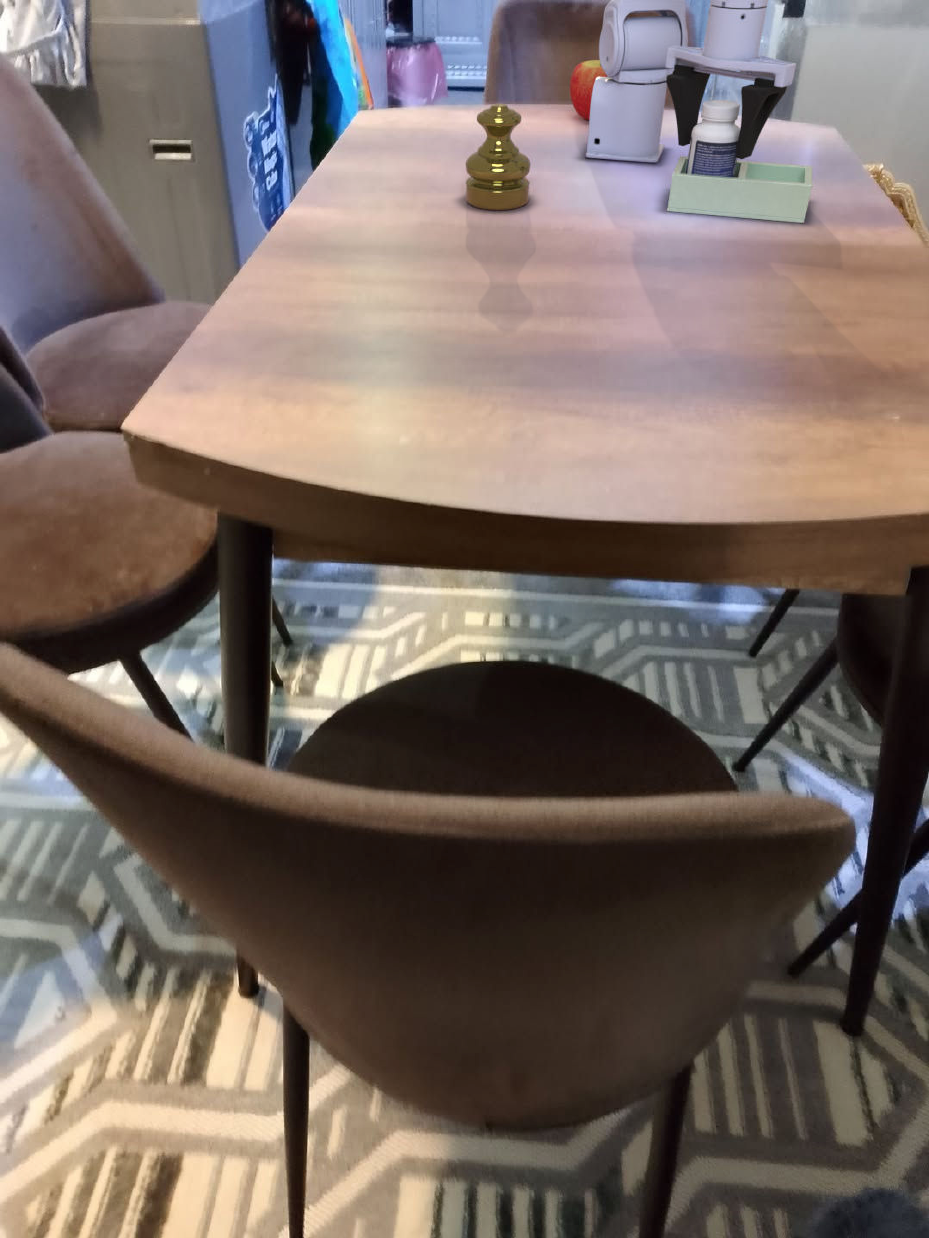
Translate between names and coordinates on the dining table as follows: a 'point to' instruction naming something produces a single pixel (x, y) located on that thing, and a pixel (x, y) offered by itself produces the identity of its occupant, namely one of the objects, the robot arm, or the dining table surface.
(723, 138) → the pill bottle
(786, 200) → the holder
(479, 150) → the salt shaker
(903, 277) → the dining table surface
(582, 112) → the apple
